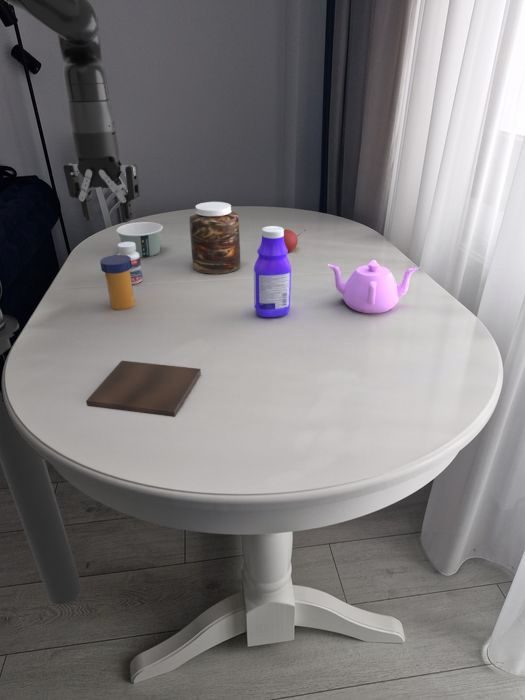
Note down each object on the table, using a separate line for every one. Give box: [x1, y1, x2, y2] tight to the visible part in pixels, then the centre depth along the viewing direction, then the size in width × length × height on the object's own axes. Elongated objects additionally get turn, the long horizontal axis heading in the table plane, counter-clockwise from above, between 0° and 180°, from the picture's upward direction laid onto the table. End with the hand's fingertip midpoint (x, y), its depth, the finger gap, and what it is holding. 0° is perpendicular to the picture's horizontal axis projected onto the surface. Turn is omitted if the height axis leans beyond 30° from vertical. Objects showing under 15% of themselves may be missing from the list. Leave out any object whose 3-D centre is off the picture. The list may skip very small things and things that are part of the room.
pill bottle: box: [116, 242, 143, 285], centre depth 118 cm, size 5×5×9 cm
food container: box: [115, 221, 164, 259], centre depth 137 cm, size 12×12×6 cm
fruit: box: [284, 229, 306, 253], centre depth 137 cm, size 6×6×8 cm
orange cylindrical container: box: [104, 270, 136, 311], centre depth 106 cm, size 5×5×10 cm
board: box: [85, 360, 202, 418], centre depth 80 cm, size 14×12×1 cm
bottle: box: [253, 225, 292, 318], centre depth 100 cm, size 7×6×17 cm
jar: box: [189, 201, 241, 275], centre depth 124 cm, size 12×12×15 cm
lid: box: [99, 254, 132, 274], centre depth 104 cm, size 6×6×2 cm
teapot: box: [327, 259, 419, 314], centre depth 105 cm, size 12×14×9 cm
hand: (108, 220), depth 100 cm, fingers open, 7 cm apart
